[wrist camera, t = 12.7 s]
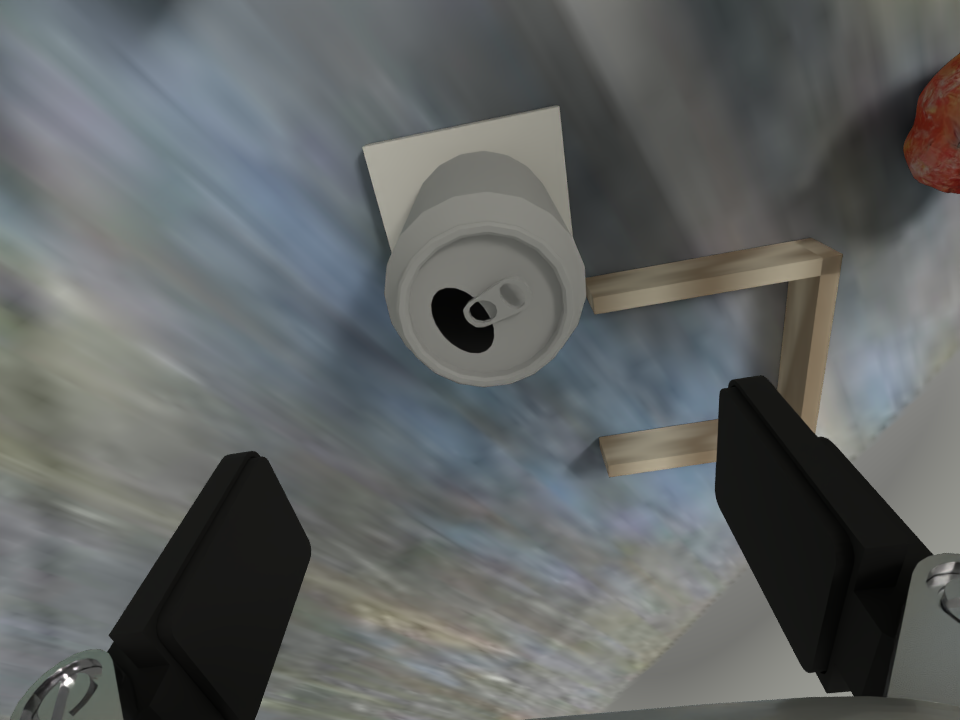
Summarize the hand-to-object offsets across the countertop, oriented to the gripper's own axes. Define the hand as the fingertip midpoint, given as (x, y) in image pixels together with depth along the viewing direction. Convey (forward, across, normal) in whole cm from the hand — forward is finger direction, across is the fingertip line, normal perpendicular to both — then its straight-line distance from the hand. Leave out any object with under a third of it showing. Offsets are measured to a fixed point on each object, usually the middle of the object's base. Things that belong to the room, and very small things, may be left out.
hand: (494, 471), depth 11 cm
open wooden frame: (+21, -11, +12) cm, 27 cm away
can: (+20, 0, 0) cm, 20 cm away
